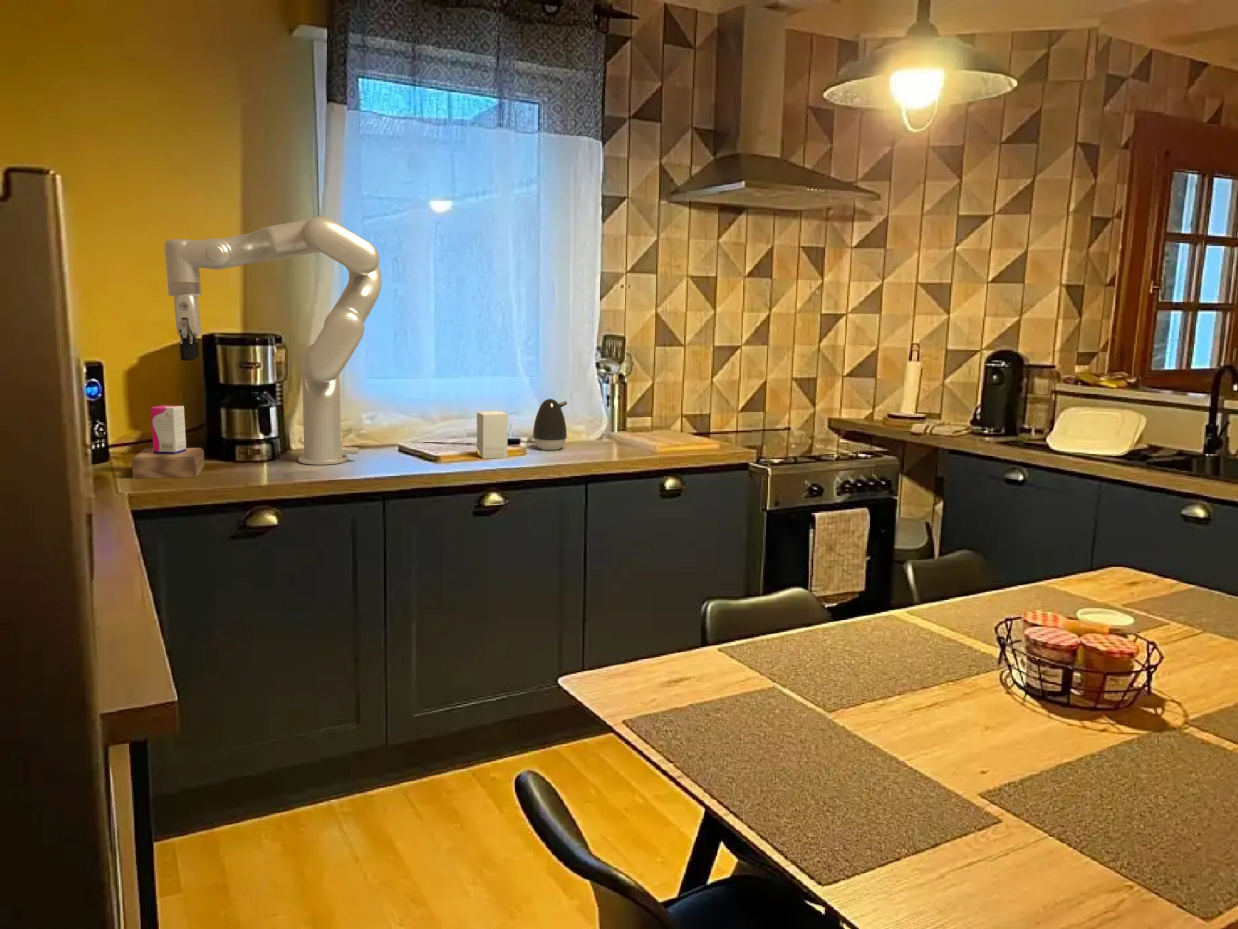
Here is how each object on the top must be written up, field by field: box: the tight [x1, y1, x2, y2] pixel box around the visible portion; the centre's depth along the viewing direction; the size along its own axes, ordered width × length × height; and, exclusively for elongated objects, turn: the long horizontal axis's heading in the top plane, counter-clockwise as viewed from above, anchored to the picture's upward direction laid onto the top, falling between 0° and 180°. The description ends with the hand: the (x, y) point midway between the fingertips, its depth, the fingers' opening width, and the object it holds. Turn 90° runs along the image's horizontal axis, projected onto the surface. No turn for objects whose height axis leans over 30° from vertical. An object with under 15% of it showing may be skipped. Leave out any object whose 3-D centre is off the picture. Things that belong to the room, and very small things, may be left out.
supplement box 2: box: [476, 410, 509, 460], centre depth 274 cm, size 7×7×13 cm
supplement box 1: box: [150, 404, 187, 454], centre depth 238 cm, size 6×6×12 cm
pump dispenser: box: [532, 398, 568, 452], centre depth 290 cm, size 10×10×15 cm
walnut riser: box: [131, 447, 205, 479], centre depth 239 cm, size 14×14×5 cm
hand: (190, 358), depth 244 cm, fingers open, 9 cm apart
